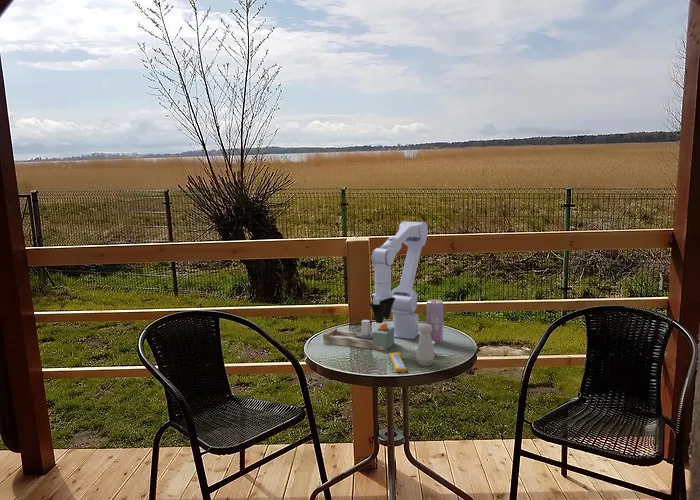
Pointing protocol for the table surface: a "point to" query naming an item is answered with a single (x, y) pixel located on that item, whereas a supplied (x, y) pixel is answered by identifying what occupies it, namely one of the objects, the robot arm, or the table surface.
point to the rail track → (347, 339)
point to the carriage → (365, 331)
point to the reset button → (383, 326)
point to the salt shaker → (425, 346)
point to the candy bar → (398, 362)
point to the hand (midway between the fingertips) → (382, 320)
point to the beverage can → (435, 319)
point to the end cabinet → (383, 338)
